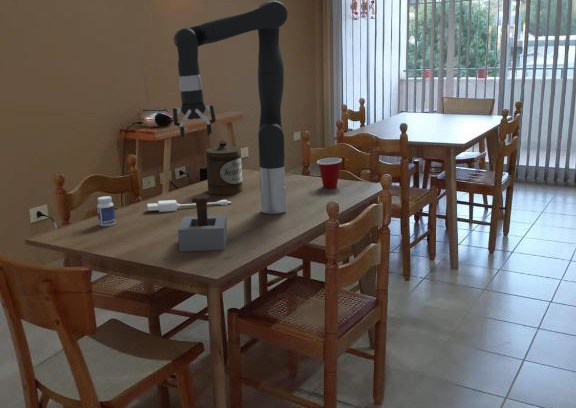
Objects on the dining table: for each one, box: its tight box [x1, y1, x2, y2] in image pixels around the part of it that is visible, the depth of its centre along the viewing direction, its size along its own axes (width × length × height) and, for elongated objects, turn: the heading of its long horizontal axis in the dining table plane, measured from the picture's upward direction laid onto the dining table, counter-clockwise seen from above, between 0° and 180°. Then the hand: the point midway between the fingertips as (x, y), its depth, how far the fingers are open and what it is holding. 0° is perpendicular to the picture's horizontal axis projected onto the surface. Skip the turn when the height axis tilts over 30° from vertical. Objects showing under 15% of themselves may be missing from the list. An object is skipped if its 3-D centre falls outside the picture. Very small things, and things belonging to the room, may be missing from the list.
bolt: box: [191, 194, 211, 226], centre depth 191 cm, size 6×5×15 cm
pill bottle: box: [96, 195, 117, 227], centre depth 215 cm, size 6×6×10 cm
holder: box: [177, 214, 228, 252], centre depth 193 cm, size 14×14×7 cm
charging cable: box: [146, 199, 232, 213], centre depth 234 cm, size 5×32×3 cm, turn 106°
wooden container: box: [205, 139, 243, 196], centre depth 256 cm, size 15×15×22 cm
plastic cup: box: [316, 157, 343, 189], centre depth 259 cm, size 11×11×12 cm
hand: (196, 136), depth 209 cm, fingers open, 8 cm apart
